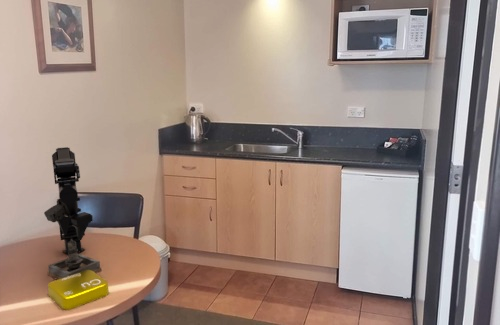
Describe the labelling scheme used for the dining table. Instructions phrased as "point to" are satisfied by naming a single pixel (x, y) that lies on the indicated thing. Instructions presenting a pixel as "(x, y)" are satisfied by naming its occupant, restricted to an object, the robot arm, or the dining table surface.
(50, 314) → the dining table surface
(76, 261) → the dark grey chess piece
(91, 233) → the dining table surface
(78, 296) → the element tile
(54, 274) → the socket
